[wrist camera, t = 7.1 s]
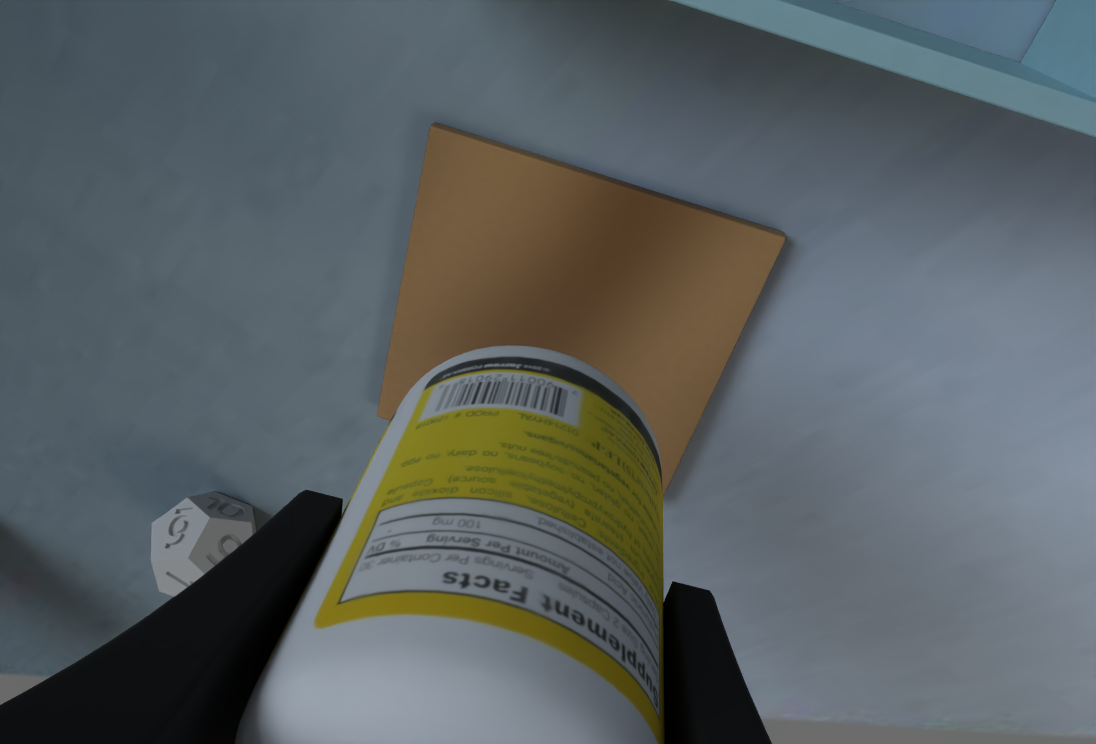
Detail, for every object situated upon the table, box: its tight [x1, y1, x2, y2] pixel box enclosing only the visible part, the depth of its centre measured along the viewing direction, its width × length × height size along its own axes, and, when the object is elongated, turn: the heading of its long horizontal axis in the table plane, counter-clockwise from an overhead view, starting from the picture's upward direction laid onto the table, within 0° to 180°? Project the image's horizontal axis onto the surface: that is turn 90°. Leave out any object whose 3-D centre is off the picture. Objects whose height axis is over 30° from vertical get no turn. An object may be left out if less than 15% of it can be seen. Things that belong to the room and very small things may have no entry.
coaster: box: [377, 123, 786, 496], centre depth 21 cm, size 9×9×1 cm
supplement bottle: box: [235, 345, 665, 744], centre depth 11 cm, size 5×5×10 cm
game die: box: [151, 491, 256, 597], centre depth 26 cm, size 4×4×3 cm
